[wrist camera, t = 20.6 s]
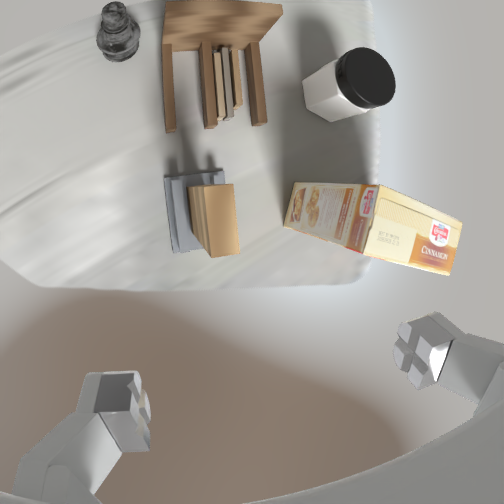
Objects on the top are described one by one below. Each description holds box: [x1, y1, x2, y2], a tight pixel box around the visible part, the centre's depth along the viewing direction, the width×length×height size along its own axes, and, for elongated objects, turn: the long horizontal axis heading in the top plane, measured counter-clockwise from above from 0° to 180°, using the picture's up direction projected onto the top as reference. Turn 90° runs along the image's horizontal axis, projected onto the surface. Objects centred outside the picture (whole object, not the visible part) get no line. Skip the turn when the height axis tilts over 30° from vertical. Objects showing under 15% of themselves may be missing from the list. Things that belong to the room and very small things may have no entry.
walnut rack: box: [161, 0, 283, 133], centre depth 34 cm, size 13×13×12 cm
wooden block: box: [186, 184, 240, 258], centre depth 34 cm, size 2×6×16 cm, turn 5°
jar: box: [302, 47, 396, 122], centre depth 39 cm, size 9×8×12 cm
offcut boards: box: [212, 48, 243, 121], centre depth 38 cm, size 3×10×4 cm, turn 5°
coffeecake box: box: [283, 182, 462, 276], centre depth 39 cm, size 15×7×20 cm, turn 76°
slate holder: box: [164, 171, 225, 253], centre depth 41 cm, size 8×10×4 cm
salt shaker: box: [96, 2, 140, 62], centre depth 29 cm, size 6×6×12 cm
